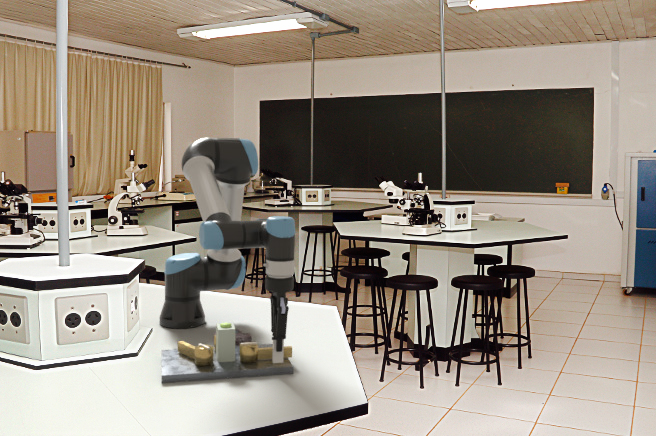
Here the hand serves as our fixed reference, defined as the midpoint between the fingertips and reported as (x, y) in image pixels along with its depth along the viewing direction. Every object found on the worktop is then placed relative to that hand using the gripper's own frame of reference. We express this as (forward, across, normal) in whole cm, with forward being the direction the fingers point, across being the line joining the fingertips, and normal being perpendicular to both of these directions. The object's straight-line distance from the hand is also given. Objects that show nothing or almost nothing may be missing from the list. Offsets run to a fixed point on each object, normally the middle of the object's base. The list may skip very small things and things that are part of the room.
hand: (277, 361), depth 162 cm
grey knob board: (+3, -9, -13) cm, 16 cm away
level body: (+1, -9, -13) cm, 16 cm away
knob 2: (+1, -6, -2) cm, 6 cm away
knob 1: (+1, -10, -21) cm, 24 cm away
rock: (+4, -26, -9) cm, 28 cm away
